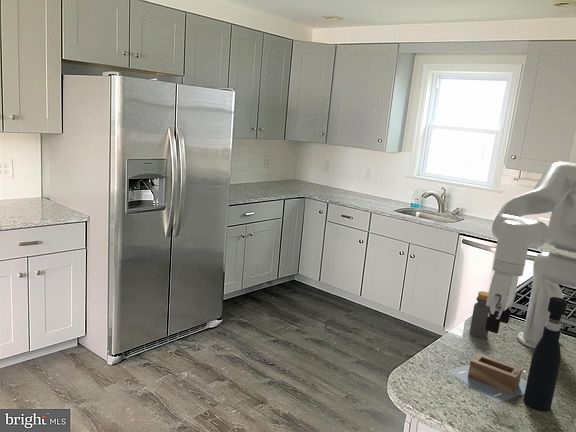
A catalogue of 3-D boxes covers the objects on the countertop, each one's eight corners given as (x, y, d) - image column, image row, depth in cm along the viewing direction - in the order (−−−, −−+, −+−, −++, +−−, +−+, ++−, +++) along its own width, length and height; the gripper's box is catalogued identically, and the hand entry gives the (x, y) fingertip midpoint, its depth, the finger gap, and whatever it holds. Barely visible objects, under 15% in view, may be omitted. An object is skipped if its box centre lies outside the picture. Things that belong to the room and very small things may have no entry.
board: (488, 363, 151) (490, 352, 150) (539, 392, 136) (541, 380, 136) (446, 374, 142) (447, 362, 141) (495, 407, 128) (498, 394, 127)
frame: (475, 368, 144) (478, 352, 143) (518, 385, 137) (522, 368, 136) (467, 377, 139) (470, 360, 138) (512, 394, 132) (515, 376, 131)
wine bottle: (553, 417, 125) (577, 306, 119) (526, 412, 126) (548, 302, 120) (545, 403, 131) (568, 297, 125) (519, 399, 132) (541, 293, 126)
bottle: (482, 340, 167) (489, 298, 164) (466, 333, 171) (473, 292, 168) (490, 335, 171) (498, 294, 167) (474, 329, 175) (481, 289, 172)
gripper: (503, 258, 141) (492, 314, 144) (483, 269, 128) (472, 330, 131) (531, 264, 136) (519, 322, 140) (514, 276, 123) (502, 340, 126)
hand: (496, 326), depth 135 cm, fingers open, 9 cm apart
